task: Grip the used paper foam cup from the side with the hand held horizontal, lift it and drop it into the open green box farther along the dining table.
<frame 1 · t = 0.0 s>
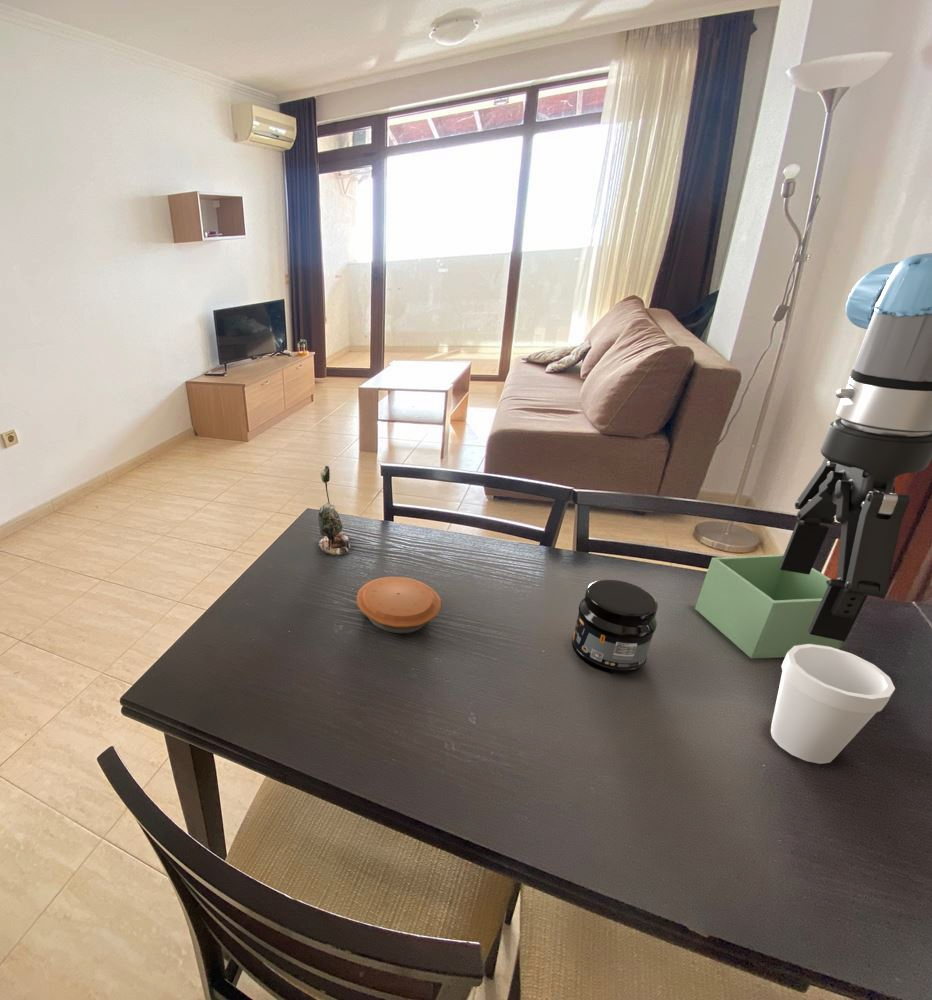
hand: (808, 600, 62), 24 cm above the table, tool pointing down, fingers open, 13 cm apart
pie: (397, 615, 103), on the table
plant with pod: (333, 548, 127), on the table
supplement container: (606, 656, 89), on the table
open green box: (760, 630, 92), on the table
foam cup: (801, 744, 72), on the table
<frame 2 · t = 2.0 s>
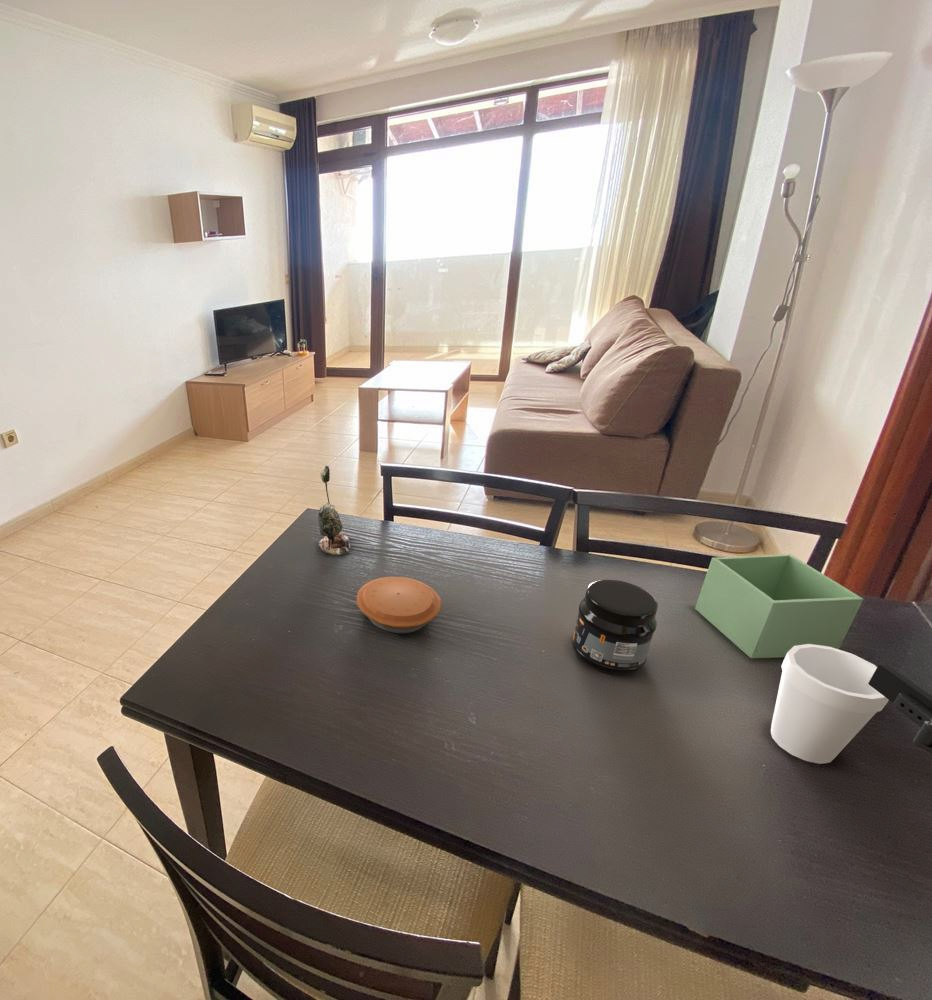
nothing on the table moved.
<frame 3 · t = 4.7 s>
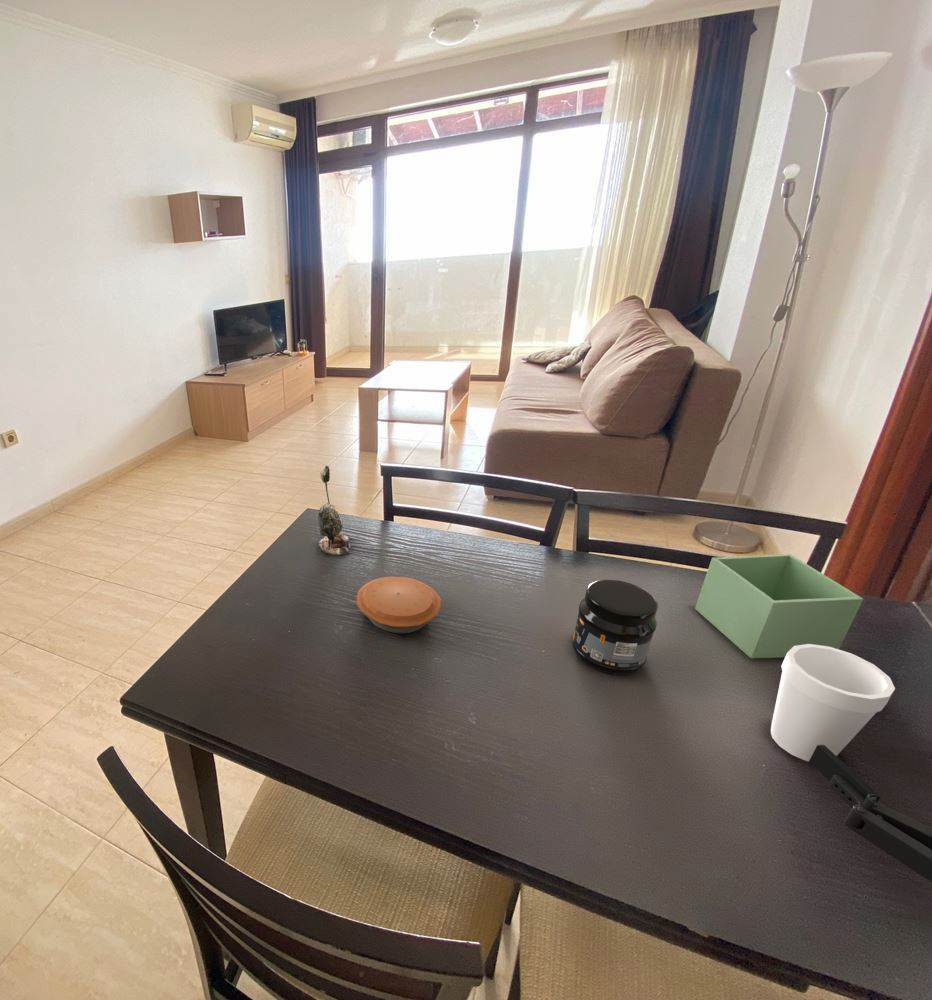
hand: (877, 750, 63), 7 cm above the table, tool horizontal, fingers open, 13 cm apart
nothing on the table moved.
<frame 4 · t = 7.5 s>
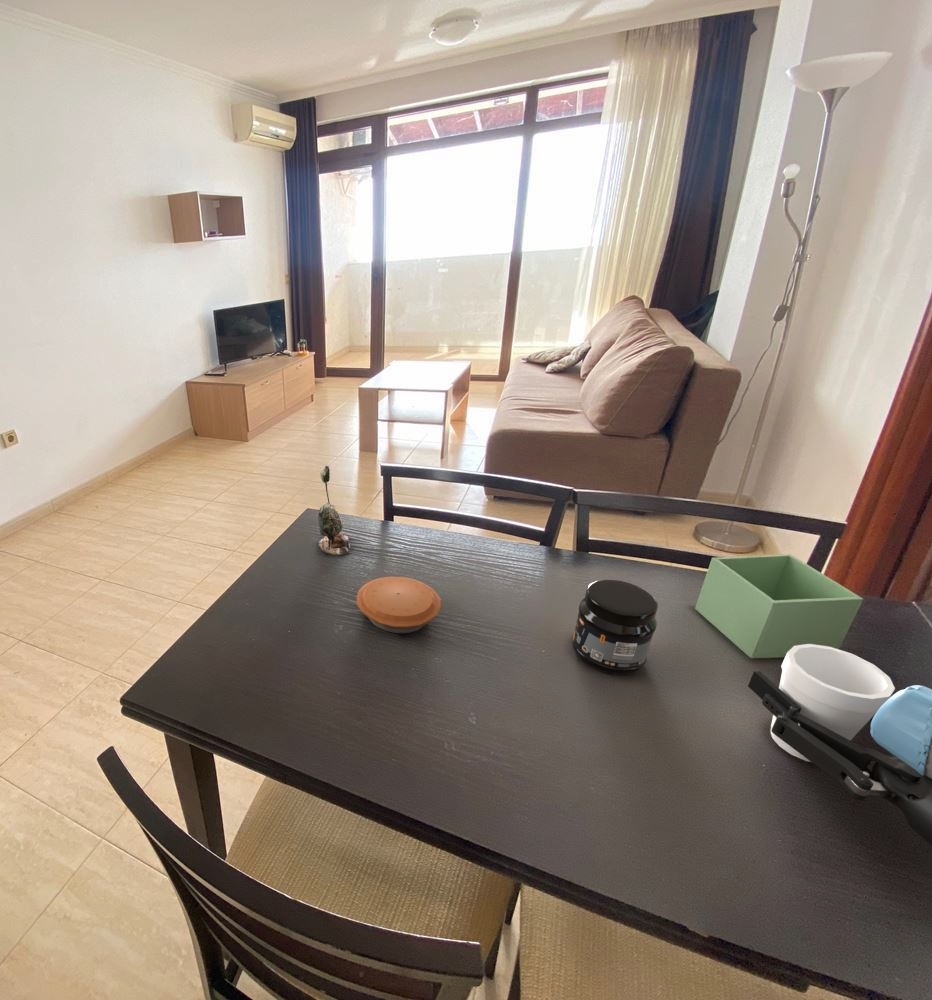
hand: (792, 677, 73), 7 cm above the table, tool horizontal, fingers closed on foam cup, 9 cm apart
foam cup: (801, 744, 72), on the table, touching gripper
everything else where it was.
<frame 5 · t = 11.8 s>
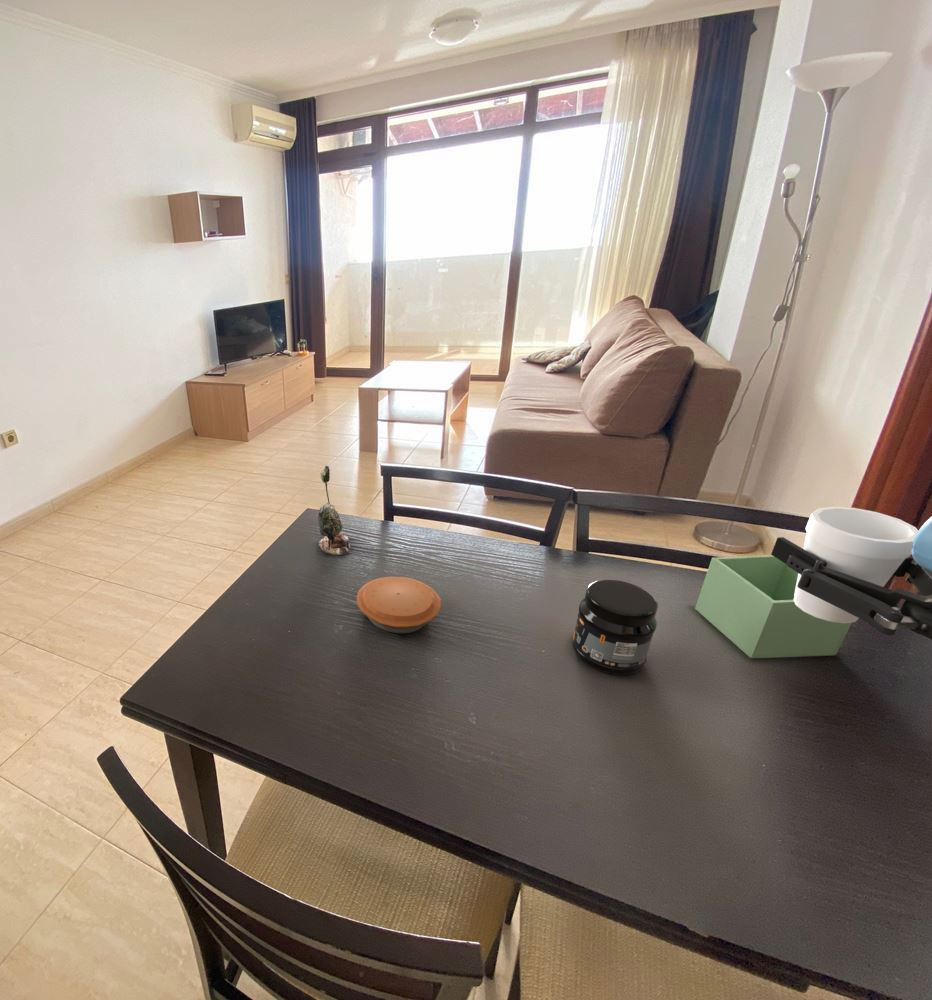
hand: (815, 543, 73), 24 cm above the table, tool horizontal, fingers closed on foam cup, 9 cm apart
foam cup: (824, 609, 72), point 16 cm above the table, touching gripper
everything else where it was.
when the fingers open (17 cm above the table, at t = 16.4 s): foam cup drops 8 cm, resting on open green box.
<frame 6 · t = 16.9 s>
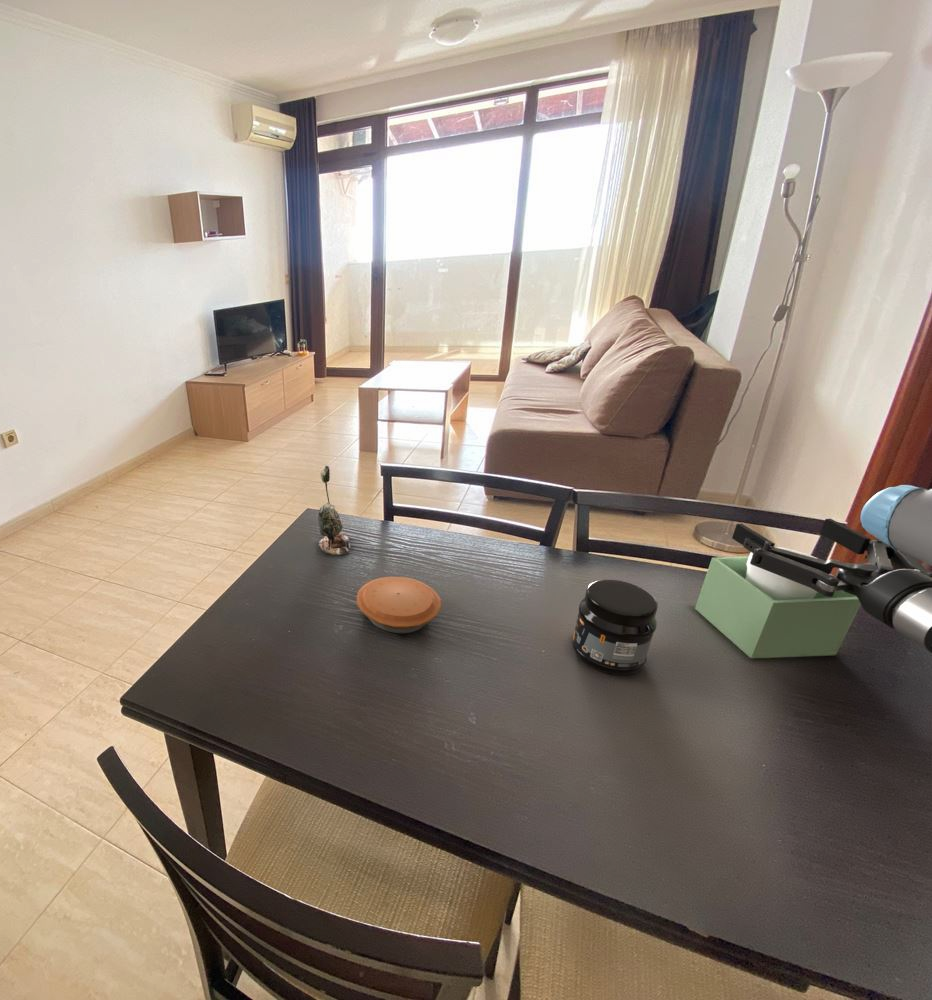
hand: (780, 528, 87), 18 cm above the table, tool horizontal, fingers open, 13 cm apart
foam cup: (762, 627, 91), point 1 cm above the table, touching open green box
everything else where it was.
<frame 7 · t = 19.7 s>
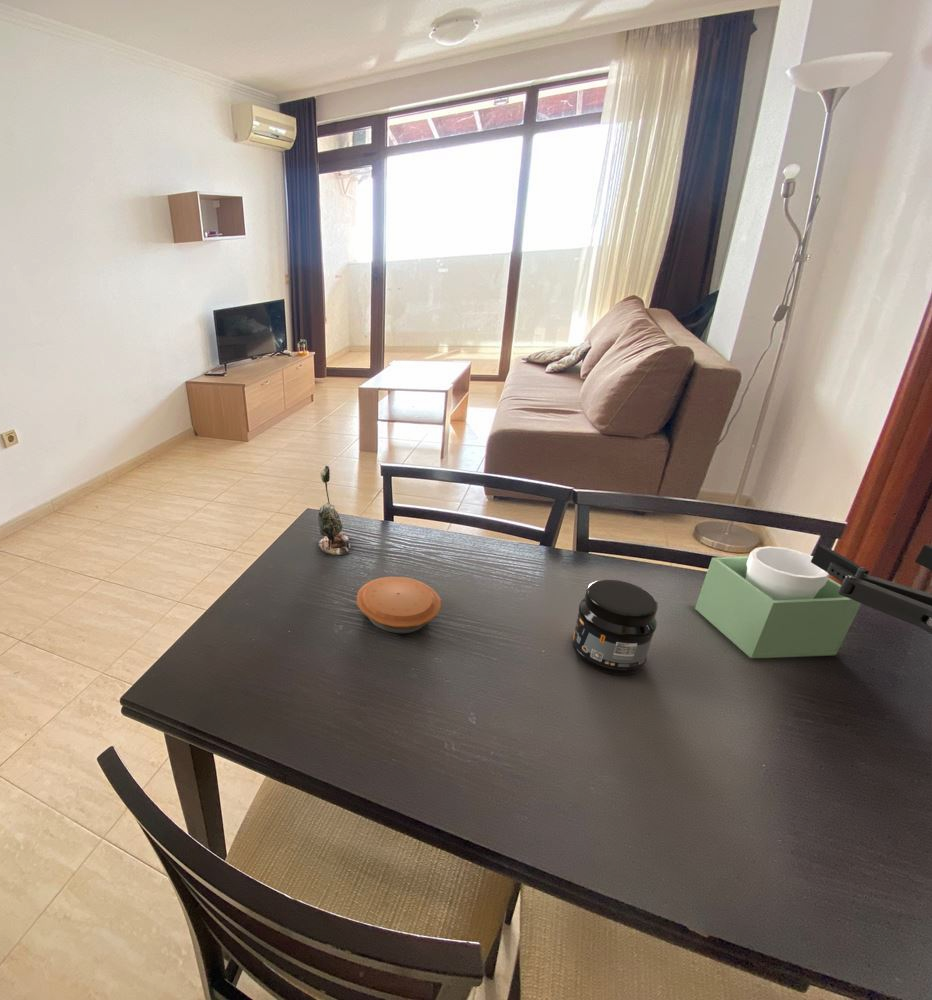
hand: (869, 553, 74), 21 cm above the table, tool horizontal, fingers open, 13 cm apart
nothing on the table moved.
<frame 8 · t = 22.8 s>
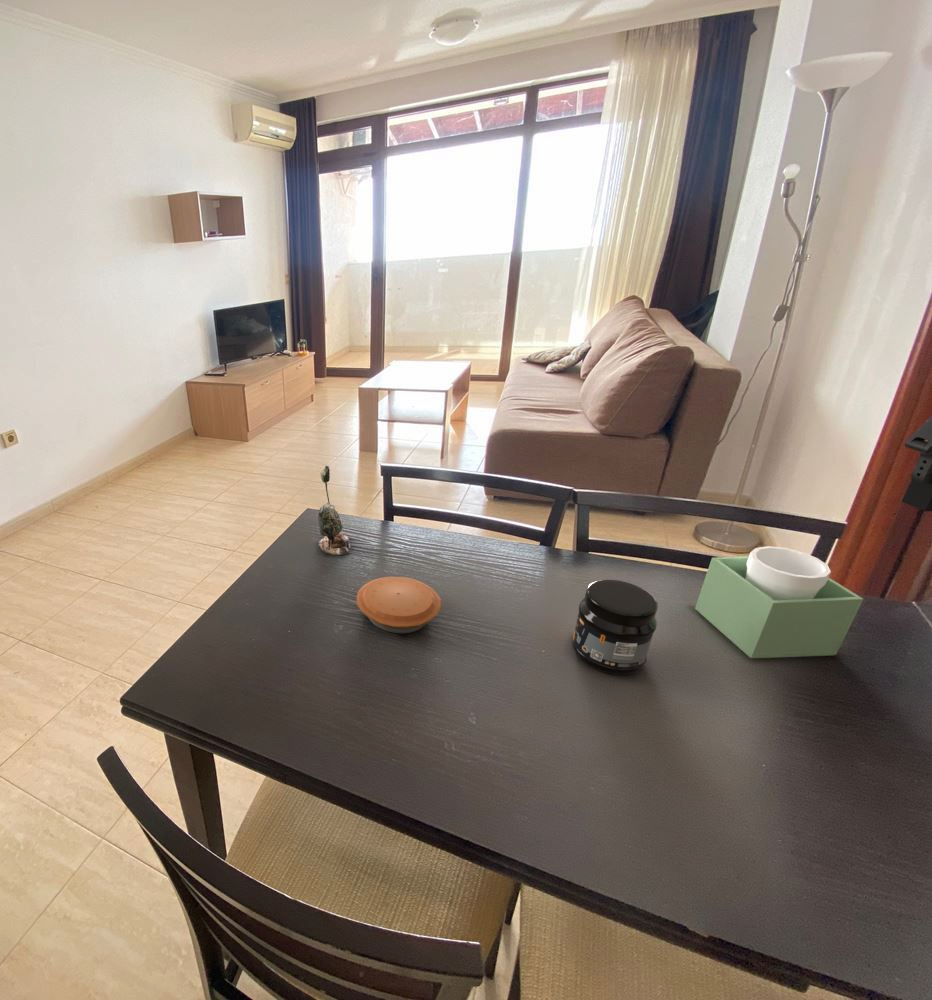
nothing on the table moved.
at the end: foam cup inside the target area in the open green box (0.1 cm from its centre), point 0.8 cm above the open green box's base; the gripper is holding nothing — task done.
